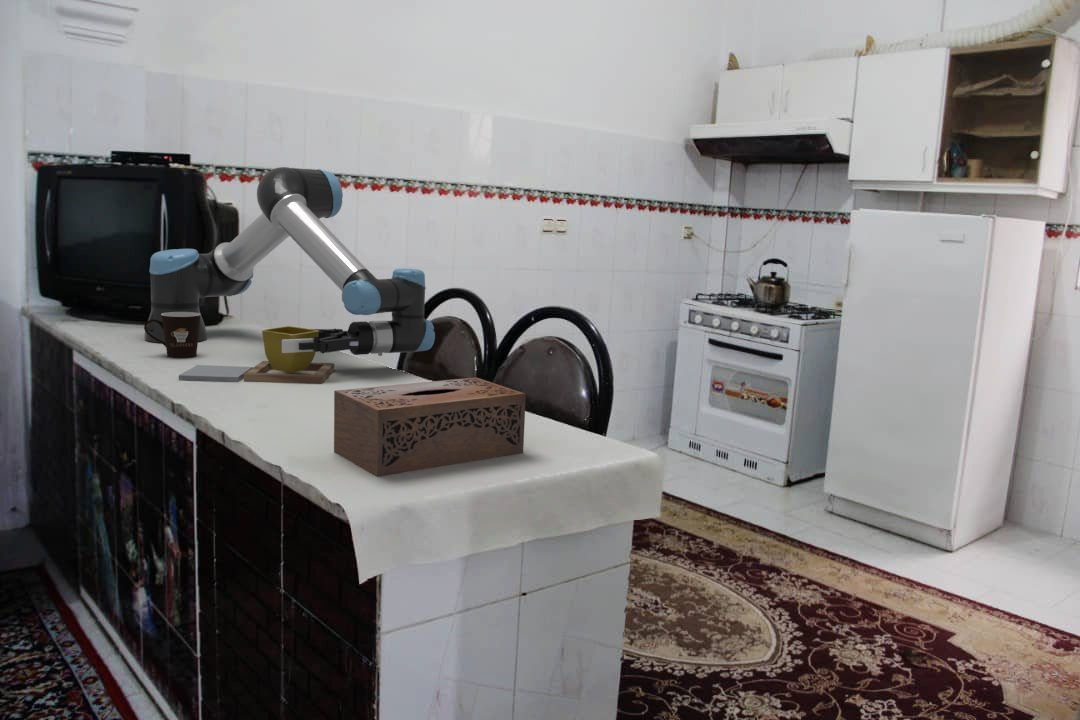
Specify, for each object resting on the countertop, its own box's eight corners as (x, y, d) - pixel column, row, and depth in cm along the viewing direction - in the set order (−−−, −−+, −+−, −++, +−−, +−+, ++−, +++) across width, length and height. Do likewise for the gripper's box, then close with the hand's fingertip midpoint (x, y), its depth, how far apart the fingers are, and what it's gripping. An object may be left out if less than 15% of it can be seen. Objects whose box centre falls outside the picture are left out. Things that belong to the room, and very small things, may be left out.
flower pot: (319, 370, 196) (320, 329, 194) (293, 376, 188) (293, 334, 187) (288, 365, 200) (288, 325, 198) (261, 371, 192) (260, 329, 190)
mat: (197, 369, 196) (197, 364, 195) (252, 371, 196) (252, 366, 196) (178, 380, 184) (178, 375, 184) (237, 381, 185) (237, 377, 184)
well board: (262, 367, 201) (262, 360, 201) (334, 369, 202) (334, 363, 202) (243, 381, 186) (243, 374, 185) (321, 383, 187) (321, 376, 186)
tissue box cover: (473, 434, 153) (475, 377, 151) (523, 454, 142) (525, 393, 140) (333, 453, 137) (334, 390, 136) (376, 478, 126) (377, 410, 124)
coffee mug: (207, 354, 214) (207, 313, 213) (190, 360, 206) (189, 317, 204) (161, 351, 215) (160, 310, 214) (142, 357, 207) (141, 314, 205)
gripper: (389, 363, 194) (291, 368, 182) (349, 345, 213) (257, 349, 201) (390, 329, 192) (291, 332, 180) (349, 314, 212) (257, 317, 200)
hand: (273, 341), depth 191 cm, fingers closed on flower pot, 11 cm apart
